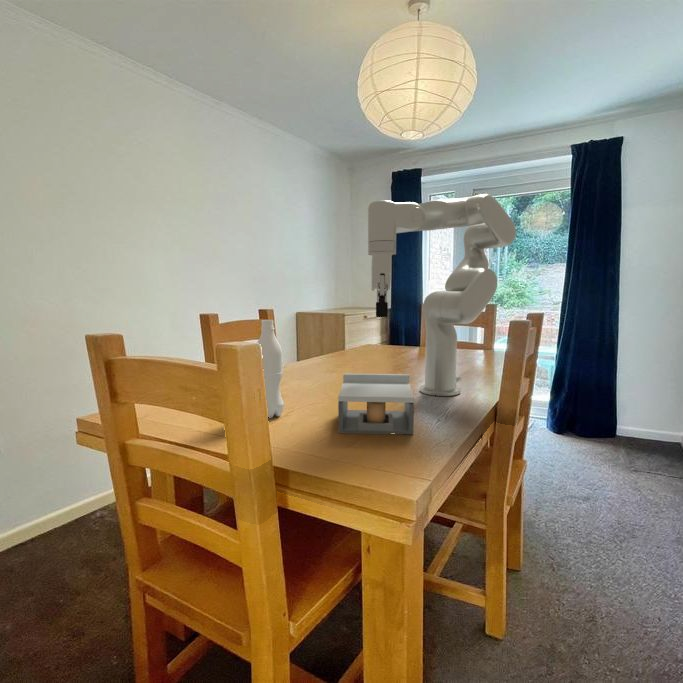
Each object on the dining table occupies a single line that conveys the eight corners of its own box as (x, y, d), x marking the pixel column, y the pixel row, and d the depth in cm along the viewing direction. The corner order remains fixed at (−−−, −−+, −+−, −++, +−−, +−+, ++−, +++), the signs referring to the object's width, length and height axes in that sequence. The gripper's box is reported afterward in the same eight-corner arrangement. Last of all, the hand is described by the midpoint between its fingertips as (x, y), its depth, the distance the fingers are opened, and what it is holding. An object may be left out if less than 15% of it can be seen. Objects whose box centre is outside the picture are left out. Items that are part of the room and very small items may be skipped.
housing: (343, 412, 109) (343, 386, 108) (408, 414, 107) (408, 387, 106) (338, 432, 94) (338, 402, 93) (413, 434, 93) (413, 404, 92)
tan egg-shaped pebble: (373, 420, 100) (374, 398, 99) (388, 424, 97) (389, 401, 97) (362, 424, 97) (363, 402, 96) (378, 429, 94) (378, 405, 93)
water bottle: (285, 410, 111) (283, 318, 107) (282, 419, 104) (279, 321, 100) (258, 411, 111) (255, 319, 107) (254, 419, 104) (250, 321, 100)
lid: (343, 385, 108) (343, 373, 107) (408, 386, 106) (409, 374, 106) (338, 401, 93) (338, 387, 93) (413, 402, 92) (414, 388, 91)
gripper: (368, 251, 118) (368, 314, 121) (367, 246, 103) (367, 319, 106) (394, 251, 118) (394, 314, 120) (397, 246, 103) (396, 319, 105)
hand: (381, 316), depth 113 cm, fingers closed
